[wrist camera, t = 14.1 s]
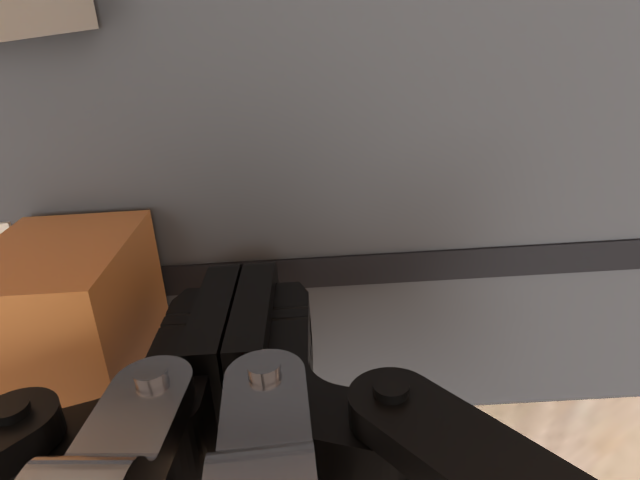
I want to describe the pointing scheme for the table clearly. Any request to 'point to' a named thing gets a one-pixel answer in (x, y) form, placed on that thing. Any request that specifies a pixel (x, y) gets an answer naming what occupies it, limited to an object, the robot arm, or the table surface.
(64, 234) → the fader
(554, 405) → the table surface
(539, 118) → the console
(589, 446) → the table surface
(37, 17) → the fader
